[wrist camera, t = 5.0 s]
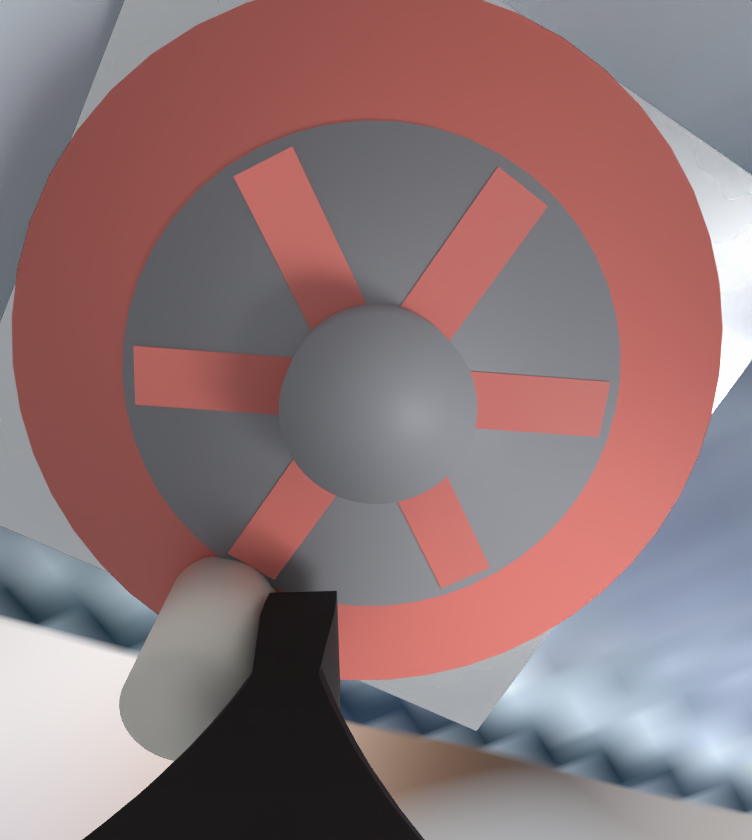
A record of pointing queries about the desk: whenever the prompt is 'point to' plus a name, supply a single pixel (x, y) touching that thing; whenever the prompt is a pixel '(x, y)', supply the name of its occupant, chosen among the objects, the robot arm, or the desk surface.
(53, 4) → the desk surface
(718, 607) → the desk surface
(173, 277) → the handwheel
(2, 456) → the wheel plate
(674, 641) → the desk surface
